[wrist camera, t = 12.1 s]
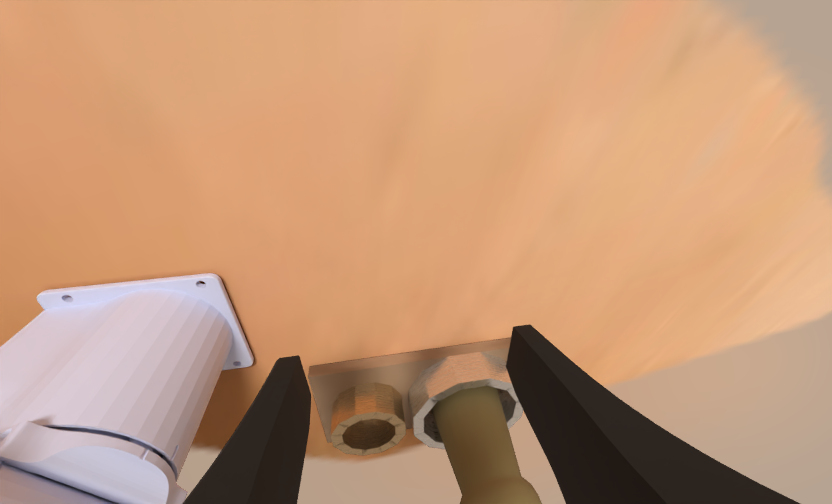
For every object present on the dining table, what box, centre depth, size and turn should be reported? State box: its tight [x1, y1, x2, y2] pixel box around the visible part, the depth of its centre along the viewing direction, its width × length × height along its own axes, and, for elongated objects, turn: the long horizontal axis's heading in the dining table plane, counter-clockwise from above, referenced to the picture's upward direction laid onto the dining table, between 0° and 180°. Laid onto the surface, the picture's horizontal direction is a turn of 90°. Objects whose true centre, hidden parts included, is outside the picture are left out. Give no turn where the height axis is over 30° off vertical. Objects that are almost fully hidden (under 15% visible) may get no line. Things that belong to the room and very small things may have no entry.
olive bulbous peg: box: [431, 386, 542, 504], centre depth 23 cm, size 6×6×11 cm
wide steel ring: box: [409, 352, 523, 449], centre depth 27 cm, size 9×9×2 cm
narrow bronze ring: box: [331, 382, 406, 455], centre depth 26 cm, size 6×6×2 cm
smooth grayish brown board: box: [308, 338, 511, 443], centre depth 28 cm, size 17×9×1 cm, turn 92°
